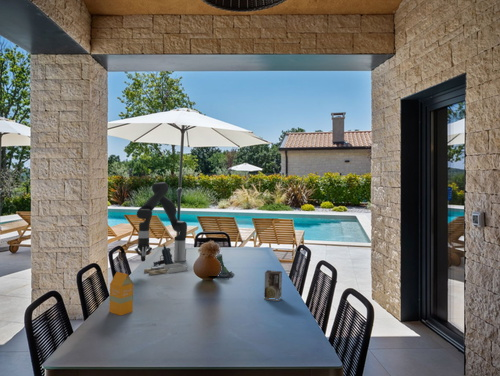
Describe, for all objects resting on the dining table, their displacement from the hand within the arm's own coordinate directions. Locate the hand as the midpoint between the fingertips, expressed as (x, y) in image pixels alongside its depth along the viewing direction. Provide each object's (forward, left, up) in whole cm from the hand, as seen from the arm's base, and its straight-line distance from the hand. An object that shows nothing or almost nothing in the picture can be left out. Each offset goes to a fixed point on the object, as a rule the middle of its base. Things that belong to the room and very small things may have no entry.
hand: (143, 261), depth 268 cm
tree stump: (-46, +32, -10) cm, 57 cm away
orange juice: (+41, +64, -10) cm, 77 cm away
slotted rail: (-10, 0, -10) cm, 14 cm away
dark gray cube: (-14, 0, -10) cm, 17 cm away
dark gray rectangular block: (-9, 0, -10) cm, 13 cm away
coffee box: (-38, +94, -10) cm, 102 cm away
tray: (-25, 0, -10) cm, 26 cm away
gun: (-25, -17, -10) cm, 32 cm away
